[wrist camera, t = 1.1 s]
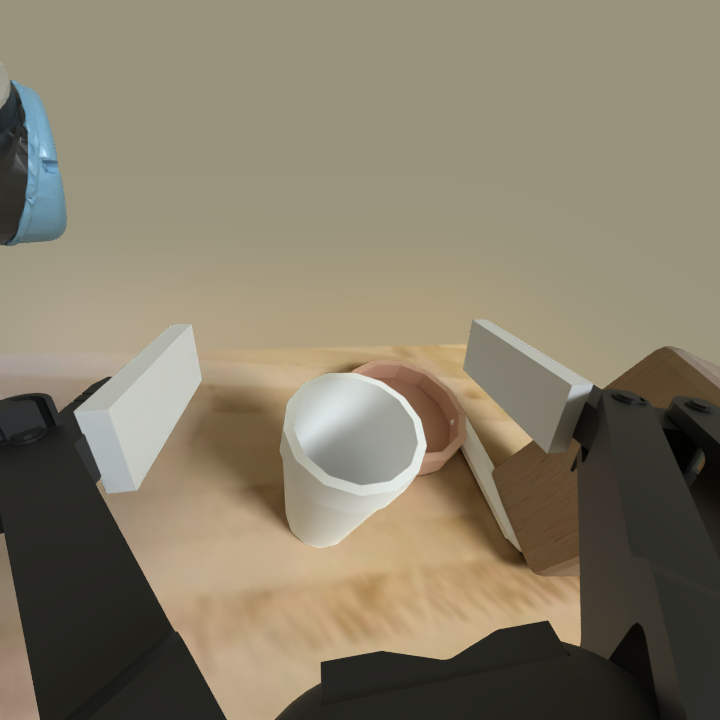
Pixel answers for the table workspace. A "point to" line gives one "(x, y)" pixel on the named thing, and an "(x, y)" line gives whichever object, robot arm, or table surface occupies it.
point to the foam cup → (346, 454)
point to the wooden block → (560, 485)
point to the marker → (486, 480)
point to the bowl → (424, 408)
